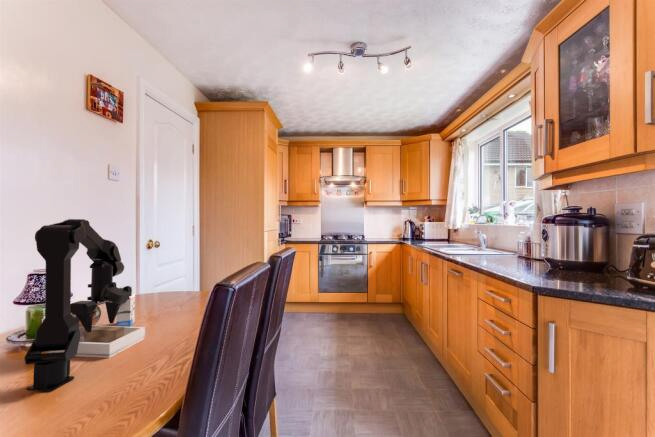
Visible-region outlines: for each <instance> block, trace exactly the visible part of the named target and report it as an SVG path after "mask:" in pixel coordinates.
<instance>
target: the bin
mask: <svg viewBox="0 0 655 437" xmlns="http://www.w3.org/2000/svg"><path fill="white" fill-rule="evenodd" d="M92 326H94V325H92ZM110 326H111V327H123V326H117V325H113V326H112V325H110ZM145 339H146V327H145V326H131V327H125V328H124V336H123V337H121V338H119V339H117V340H115V341H112V342H110V343H96V342H79V345H78V350H77V354H76V355H75V356H74V357H83V358H106V359H107V358H108V359H109V358H112V357H113V356H115V355H118V354H119V353H121V352H123V351H125V350H126V349H128V348H130V347H132V346H134V345H135V344H138V343H139V342H142V341H143V340H145ZM64 351H65V350H62V351H49V352H47V353H58V352H64Z"/></svg>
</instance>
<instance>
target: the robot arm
mask: <svg viewBox="0 0 655 437" xmlns="http://www.w3.org/2000/svg"><path fill="white" fill-rule="evenodd" d="M34 239H35V245H36V251H37V253H39V255H40V256H41V257H42V259H43V260H44V261H45V287H44V288H45V293H44V294H45V295H44V296H45V298H44V299H45V302H44V306H45V307H44V308H45V309H44V312H45V313H44V314H45V315H44V320H42V322H41V324H40V325H39V326H38V328H37V329H36V330H35V337H34V339H33V341H32V343H31V345H30V346H29V349H28V350H27V352H26V353H25V356H24V361H25V362H24V363H25V365H28V366H29V365H31V364H32V365H33V376H32V377H33V381H32V382H33V383H32V384H31V385H30V386H28V387H26V391H38V392H39V391H40V392H42V391H43V392H52V391H54V390H56V389H58V388H59V387H62V386H63V385H65V384H67V383H69V382H71V381H72V380H74V379H75V376H74V375H71V359H72V358H73V357H76V356H75V355H76V354H77V350H78V345H79V340H80V329H79V322H81V324H82V325H83V327H84V328H85V330H86V332H91V329H92V320H93V315H94V314H95V313H96V312H97V311H94V310H95V309H96V308H97V306H100V305H104V304H105V308H106V314H107V319H108V322H109V324H114V322H115V320H116V318H117V312H118V310H119V308H120V306H121V305H123V304H124V303H126V302H127V300H129V296H132V294H133V290H132V286H130V285H125V286H123V287H118V286H117V282H116V281H115V282H114V280H113V277H117V276H119V275H121V274H122V273H123V272H124V271H125V264H124V263H123V262H122V258H121V254H120V251H119V248H118V245H117V244H116V243H115V242H114V241H112V240H110V239H106V238H103V237H102V236H101V235H100V234H99V233H98V232H97V231H96V230H95V229H94V228H93V227H92V226H91V225H90V222H89V220H86V219H84V218H83V219H82V218H78V219H77V218H68V219H66V220H65V219H64V220H62V221H60V222H57V223H52V224H49V225H48V224H47V225H42V227H40V228H39V229H38V230H36V231H35V234H34ZM80 244H81V245H82V246H83V247H85V249H86V252H85V253H86V256H87V257H88V258H89V259H90V260H91V261H92V263H91V264H90V265H89V269H91V279H90V280H91V283H89V284H87V288H90V296H87V297H86V298H87V300H79V301H75V302H71V297H72V296H71V293H72V292H71V289H72V288H71V286H72V285H71V284H72V283H71V280H72V276H71V275H72V258H73V256H75V254H76V253H77V251H78V250H79V249H80ZM71 313H72V314H73V315H76V317H73V316H72V315H71ZM62 350H65V351H64V352H58V353H48V352H49V351H62ZM44 352H45V353H44Z"/></svg>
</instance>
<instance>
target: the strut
mask: <svg viewBox="0 0 655 437" xmlns="http://www.w3.org/2000/svg"><path fill="white" fill-rule="evenodd" d="M111 326H112V325H93V326H92V329H91V332H86V330H85V328H84V327H83V326H82V327H79V329H80V340H79V342H96V343H110V342H112V341H115V340H117V339H119V338H121V337H123V336H124V328H125V327H111Z"/></svg>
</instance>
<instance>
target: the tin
mask: <svg viewBox="0 0 655 437" xmlns="http://www.w3.org/2000/svg"><path fill="white" fill-rule="evenodd" d="M94 311H97V312H96V313H95V314H94V315H93V320H92V325H93V326H96V324H97V323H98V322H99V320H100V319H101V316H102V310H101V307H100V305H98V306H97V308H96V309H95V310H94ZM71 315H72V316H73V317H76V315H73V314H72V313H71ZM82 326H83V325H82V324H81V322H79V327H82Z"/></svg>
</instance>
